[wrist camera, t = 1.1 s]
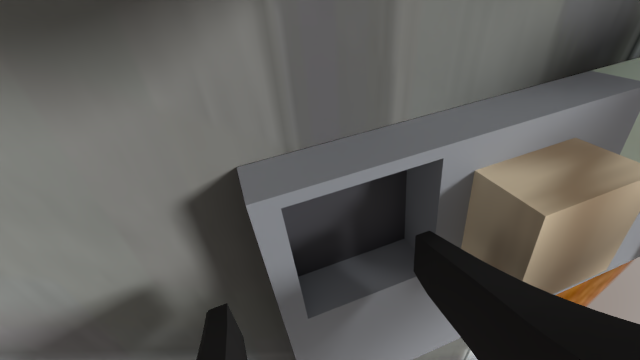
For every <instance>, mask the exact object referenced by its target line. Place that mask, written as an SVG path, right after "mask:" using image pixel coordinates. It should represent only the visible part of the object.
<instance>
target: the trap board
mask: <svg viewBox="0 0 640 360" xmlns="http://www.w3.org/2000/svg"><path fill="white" fill-rule="evenodd" d="M573 138H578V139H580V140H583V141H586V142H588V143H591V144H593V145H596V146H598V147H601V148H603V149H606V150H609V151H611V152H614V153H616V154H619V155H621V156H624V157H626V158H629V159H632V160H634V161H637V162H639V163H640V57H639V58H635V59H632V60H628V61H624V62H621V63H617V64H613V65H610V66H606V67H602V68H599V69H595V70H591V71H588V72H584V73H580V74H577V75H573V76H569V77H566V78H562V79H559V80H555V81H551V82H548V83H544V84H540V85H537V86H533V87H529V88H526V89H522V90H518V91H515V92H511V93H507V94H504V95H500V96H496V97H493V98H489V99H485V100H482V101H478V102H474V103H471V104H467V105H463V106H460V107H456V108H452V109H449V110H445V111H441V112H438V113H434V114H430V115H427V116H423V117H419V118H416V119H412V120H408V121H405V122H401V123H397V124H394V125H390V126H386V127H383V128H379V129H375V130H372V131H368V132H364V133H361V134H357V135H353V136H350V137H346V138H342V139H339V140H335V141H331V142H328V143H324V144H320V145H317V146H313V147H309V148H306V149H302V150H298V151H295V152H291V153H287V154H284V155H280V156H276V157H273V158H269V159H265V160H262V161H258V162H254V163H251V164H247V165H243V166H240V167H237V171H238V176H239V180H240V184H241V188H242V192H243V196H244V201H245V205H246V208H247V211H248V214H249V217H250V220H251V223H252V226H253V230H254V233H255V236H256V239H257V242H258V245H259V248H260V251H261V254H262V257H263V260H264V263H265V266H266V269H267V272H268V275H269V279H270V282H271V285H272V288H273V291H274V294H275V297H276V300H277V303H278V306H279V309H280V312H281V315H282V318H283V321H284V325H285V328H286V331H287V334H288V337H289V340H290V343H291V346H292V349H293V352H294V355H295V358H296V360H412V359H415V358H417V357H419V356H421V355H424V354H426V353H428V352H430V351H432V350H435V349H437V348H439V347H441V346H443V345H446V344H448V343H450V342H452V341H454V340H457V339H459V338H461V337H460V335H459V334H458V333H457V331H456V330H455V329H454V328H453V326H452V325H451V324H450V323H449V321H448V320H447V319H446V318H445V316H444V315H443V314H442V313H441V311H440V310H439V309H438V307H437V306H436V305H435V304H434V302H433V301H432V300H431V298H430V297H429V296H428V294H427V293H426V291H425V290H424V288H423V286H422V285H421V283H420V281H419V280H418V278H417V276H416V275H415V273H414V271H413V270H414V254H415V237H416V235H418V234H421V233H424V232H427V231H429V230H430V231H431V232H433V233H435V234H437V235H438V236H440V237H442V238H443V239H445V240H447V241H449V242H450V243H452V244H454V245H455V246H457V247H459V248H461V246H462V241H463V235H464V229H465V224H466V218H467V212H468V206H469V201H470V195H471V189H472V184H473V178H474V172H475V170H478V169H481V168H484V167H487V166H490V165H493V164H496V163H499V162H502V161H505V160H508V159H511V158H514V157H517V156H521V155H524V154H527V153H530V152H533V151H536V150H539V149H542V148H545V147H548V146H551V145H554V144H557V143H560V142H563V141H567V140H570V139H573ZM638 257H640V212H639V214H638V215H637V217H636V219H635V221H634V222H633V224H632V226H631V228H630V229H629V231H628V233H627V235H626V236H625V238H624V240H623V242H622V244H621V245H620V247H619V249H618V251H617V252H616V254H615V256H614V258H613V259H612V261H611V263H610V265H609V266H608V268H607V270H605V271H603V272H601V273H599V274H597V275H594V276H592V277H590V278H588V279H585V280H583V281H581V282H579V283H577V284H574V285H572V286H570V287H568V288H565V289H563V290H561V291H559V292H557V293H554V294H553V295H556V294H558V293H561V292H563V291H565V290H567V289H569V288H572V287H574V286H576V285H578V284H580V283H583V282H585V281H587V280H589V279H592V278H594V277H596V276H598V275H600V274H603V273H605V272H607V271H609V270H611V269H614V268H616V267H618V266H620V265H622V264H625V263H627V262H629V261H631V260H634V259H636V258H638Z"/></svg>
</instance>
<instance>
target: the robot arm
mask: <svg viewBox="0 0 640 360" xmlns="http://www.w3.org/2000/svg"><path fill="white" fill-rule="evenodd" d="M413 271H414V273H415V275H416V276H417V278H418V280H419V281H420V283H421V285H422V286H423V288H424V290H425V291H426V293H427V294H428V296H429V297H430V298H431V300H432V301H433V302H434V304H435V305H436V306H437V307H438V309H439V310H440V311H441V313H442V314H443V315H444V316H445V318H446V319H447V320H448V321H449V323H450V324H451V325H452V326H453V328H454V329H455V330H456V331H457V333H458V334H459V335H460V337H461V338H462V339H463V340H464V342H465V343H466V344H467V345H468V347H469V348H470V349H471V351H472V352H473V354H474V355H475V356H476V358H477V359H478V360H640V324H636V323H633V322H630V321H627V320H624V319H620V318H617V317H614V316H611V315H608V314H605V313H602V312H598V311H595V310H593V309H590V308H587V307H585V306H582V305H579V304H576V303H574V302H571V301H568V300H566V299H563V298H561V297H558V296H556V295H553V294H551V293H549V292H546V291H544V290H541V289H539V288H537V287H534V286H532V285H530V284H528V283H526V282H523V281H521V280H519V279H517V278H515V277H513V276H511V275H509V274H507V273H505V272H503V271H501V270H499V269H497V268H495V267H493V266H491V265H489V264H488V263H486V262H484V261H482V260H480V259H478V258H477V257H475V256H473V255H471V254H469V253H468V252H466V251H464V250H462V249H461V248H459V247H457V246H455V245H454V244H452V243H450V242H449V241H447V240H445V239H443V238H442V237H440V236H438V235H437V234H435V233H433V232H431V231H430V230H429V231H427V232H424V233H421V234H418V235H416V237H415V254H414V270H413ZM197 360H247V355H246V350H245V345H244V339H243V336H242V334H241V332H240V330H239V327H238V325H237V323H236V321H235V319H234V317H233V315H232V313H231V311H230V308H229V306H228V304H224V305H221V306H218V307H216V308H213V309H210V310H208V312H207V313H206V319H205V325H204V330H203V335H202V339H201V343H200V348H199V352H198V356H197Z"/></svg>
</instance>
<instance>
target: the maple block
mask: <svg viewBox="0 0 640 360" xmlns="http://www.w3.org/2000/svg"><path fill="white" fill-rule="evenodd" d="M639 212H640V163H639V162H637V161H634V160H632V159H629V158H626V157H624V156H621V155H619V154H616V153H614V152H611V151H609V150H606V149H603V148H601V147H598V146H596V145H593V144H591V143H588V142H586V141H583V140H580V139H578V138H573V139H570V140H567V141H563V142H560V143H557V144H554V145H551V146H548V147H545V148H542V149H539V150H536V151H533V152H530V153H527V154H524V155H521V156H517V157H514V158H511V159H508V160H505V161H502V162H499V163H496V164H493V165H490V166H487V167H484V168H481V169H478V170H475V172H474V178H473V184H472V189H471V195H470V201H469V206H468V212H467V218H466V224H465V229H464V235H463V241H462V246H461V249H462V250H464V251H466V252H468V253H469V254H471V255H473V256H475V257H477V258H478V259H480V260H482V261H484V262H486V263H488V264H489V265H491V266H493V267H495V268H497V269H499V270H501V271H503V272H505V273H507V274H509V275H511V276H513V277H515V278H517V279H519V280H521V281H523V282H526V283H528V284H530V285H532V286H534V287H537V288H539V289H541V290H544V291H546V292H549V293H551V294H554V293H557V292H559V291H561V290H563V289H565V288H568V287H570V286H572V285H574V284H577V283H579V282H581V281H583V280H585V279H588V278H590V277H592V276H594V275H597V274H599V273H601V272H603V271H605V270H607V268H608V266H609V265H610V263H611V261H612V259H613V258H614V256H615V254H616V252H617V251H618V249H619V247H620V245H621V244H622V242H623V240H624V238H625V236H626V235H627V233H628V231H629V229H630V228H631V226H632V224H633V222H634V221H635V219H636V217H637V215H638V214H639Z"/></svg>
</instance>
